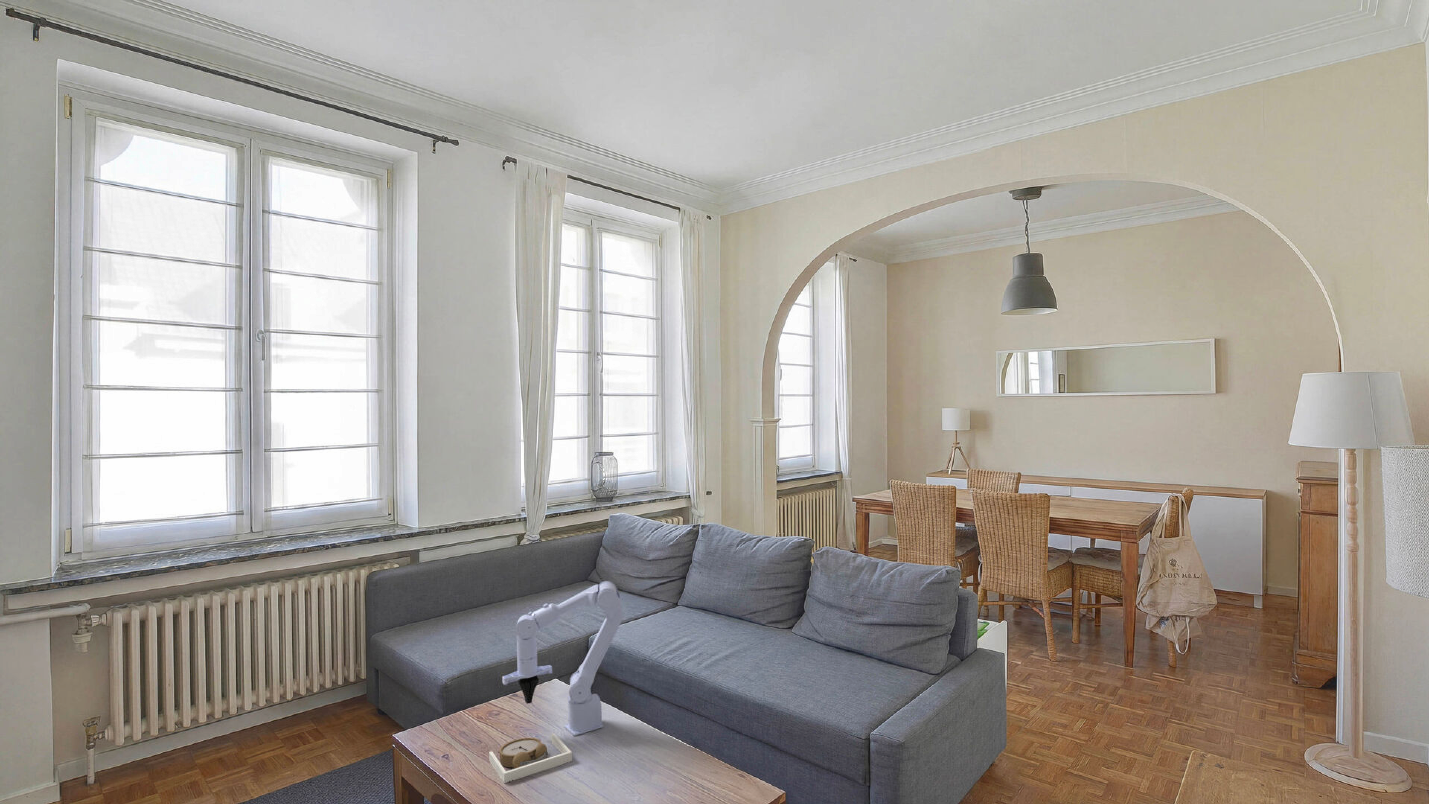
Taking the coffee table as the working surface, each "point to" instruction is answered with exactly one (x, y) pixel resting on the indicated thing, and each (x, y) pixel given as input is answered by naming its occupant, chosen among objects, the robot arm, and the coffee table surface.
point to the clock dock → (535, 766)
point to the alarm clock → (522, 752)
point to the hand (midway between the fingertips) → (528, 702)
